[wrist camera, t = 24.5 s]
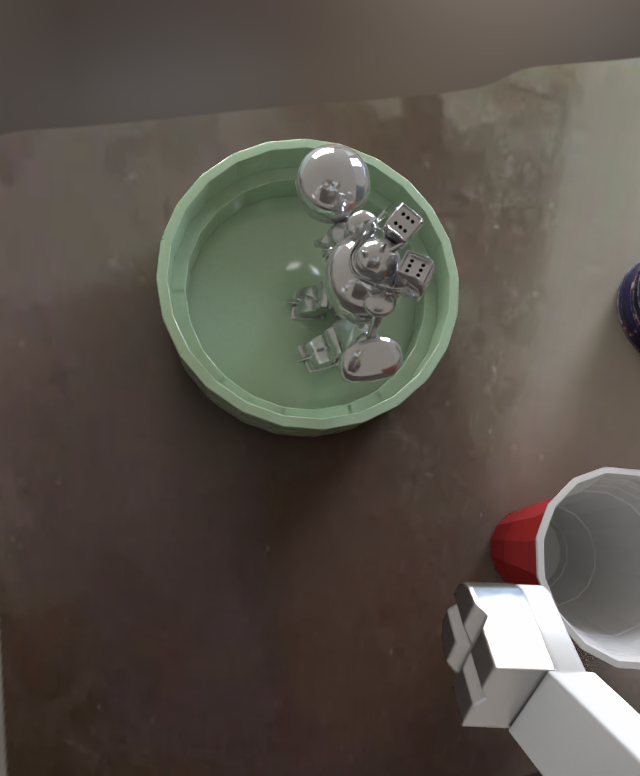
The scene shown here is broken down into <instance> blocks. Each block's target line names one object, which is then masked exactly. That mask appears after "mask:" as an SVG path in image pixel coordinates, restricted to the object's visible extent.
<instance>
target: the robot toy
mask: <svg viewBox="0 0 640 776" xmlns="http://www.w3.org/2000/svg"><path fill="white" fill-rule="evenodd" d="M370 191H371V178H370V173H369V170H368V168H367V165H366V164H365V162H364V160H363V159H362V158H361V157H360V156H359V154H357V153H356V152H355V151H354V150H352V149H351V148H349V147H347V146H344V145H339V144H326V145H322V146H320V147H317V148H315V149H314V150H312V151H311V152H310V153H308V154H307V155H306V156H305V158H304V159H303V160H302V162H301V164H300V165H299V168H298V171H297V173H296V178H295V192H296V196H297V199H298V202H299V204H300V206H301V207H302V209H303V210H304V211H305V213H306V214H307V215H309V216H310V217H311V218H313V219H314V220H316V221H318V222H320V223H324V224H334V225H333V226H332V227H330V228H329V229H328V232H327V233H326V235H324V236H320V237H319V238H317V239H316V240H314V247H315V248H322V257H323V258H324V257H325V262H326V263H325V267H324V272H323V281H321V282H319V283H318V284H317V285H313V286H307V287H304V288H301V289H299V290H298V291H295V292H294V294H293V297H291V298H292V299H293V302H285V303H287V304H292V309H291V315H290V318H291V319H294V320H315V321H317V320H325V319H326V315H327V312H328V311H331V312H332V316H333V318H334V319H336V320H337V321H336V322H334V323H333V325H332V326H331V327H329V328H328V329H326V330H325V331H324V332H323V333H322V334H321V335H319V336H317V337H315V338H314V339H312V340H310V341H309V342H307V343H306V344H302V345H300V346H298V350H299V352H300V354H301V356H302V358H303V359H301V360H299V361H298V362H302V361H304V362H305V364H306V367H307V369H308V371H309V372H310V373H315V372H318V371H322V370H325V369H328V368H331V367H334V366H337V370H338V373H339V376H340V378H341V380H343V381H345V382H348V383H366V382H373V381H378V380H383V379H386V378H389V377H392V376H393V375H395V374H396V373H397V372H398V371H399V370H400V368H401V366H402V362H403V356H402V351H401V348H400V346H399V344H398V343H397V342H396V341H395V340H392V339H390V338H383V337H380V336H379V335H378V330H379V327H380V324H381V321H382V318H383V317H386V316H388V315H390V314H391V313H392V312H393V311H394V310H395V308H396V305H397V303H398V302H399V300H400V298H401V297H403V298H404V299H407V300H409V301H411V302H414V303H418V302H419V301H420V299H421V297H422V296H423V294H424V292H425V290H426V288H427V286H428V284H429V282H430V280H431V278H432V276H433V274H434V261H433V260H431V259H430V258H428V257H426V256H424V255H421V254H418V253H415V252H413V251H410V250H407V251H406V253H405V255H404V257H403V259H402V260H401V255H400V252H399V250H402V249H403V248H405V247H406V245H407V244H408V243H409V242H410V241H411V239H412V238H413V237H414V236H415V235H416V233H417V232H418V231H419V230H420V229H421V227H422V225H423V222H424V220H423V218H422V217H420V216H419V215H418V214H417V213H416V212H414V211H413V210H412V209H411V208H410V207H408V206H407V205H406V204H405V203H403V202H402V203H401V204H400V205H399V206H398V207H397V208H396V210H395V211H394V212H393V213H392V214H391V216H390V217H389V218H388V219H387V221H386V223H385V225H384V226H383V228H382V229H381V228H379V227H378V223H379V222H380V221H381V220H382V219H384V218H385V217H386V216H387V215H386V216H385V217H383V218H382V219H381V220H379V219H380V218H381V217H382V216H383V215H384V214H385V213H386V212H387V211H386V212H385V213H384V214H383V215H382V216H381V214H382V213H383V212H384V211H385V210H386V208H387V207H388V206H387V207H386V208H385V209H384V211H383V212H382V213H381V214H380V215H379V216H378V217H377V218H376V216H375V215H374V214H373V213H371V212H370V211H367V210H362V209H363V208H364V206H365V205H366V203H367V201H368V198H369V195H370ZM380 216H381V217H380ZM378 220H379V221H378ZM377 230H382V234H383V236H384V238H381V237H379V236H376V235H375V234H376V232H377ZM398 249H399V250H398Z"/></svg>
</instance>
